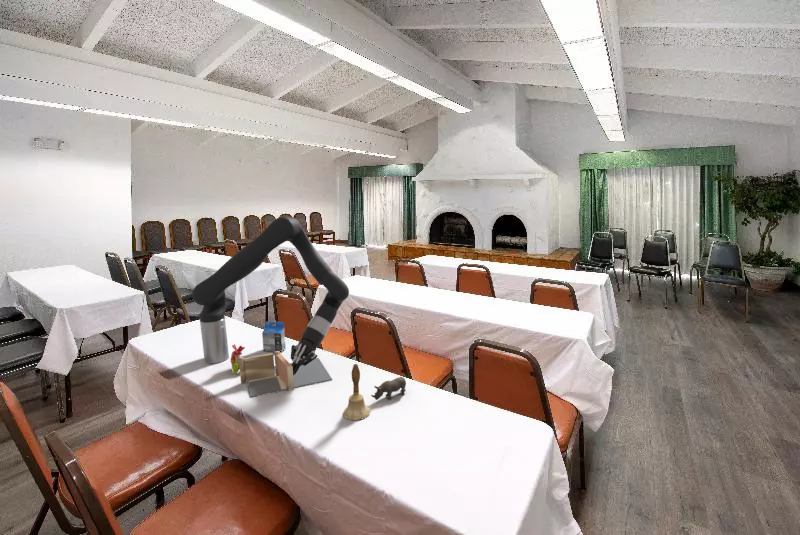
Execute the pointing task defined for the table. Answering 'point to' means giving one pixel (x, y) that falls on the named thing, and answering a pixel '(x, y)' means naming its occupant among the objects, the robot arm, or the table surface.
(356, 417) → the hand bell
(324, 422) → the table surface
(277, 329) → the label tape box
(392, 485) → the table surface
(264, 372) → the fence post section
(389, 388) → the rhino figurine
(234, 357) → the bird rattle
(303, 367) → the card
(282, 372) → the swing fence panel
